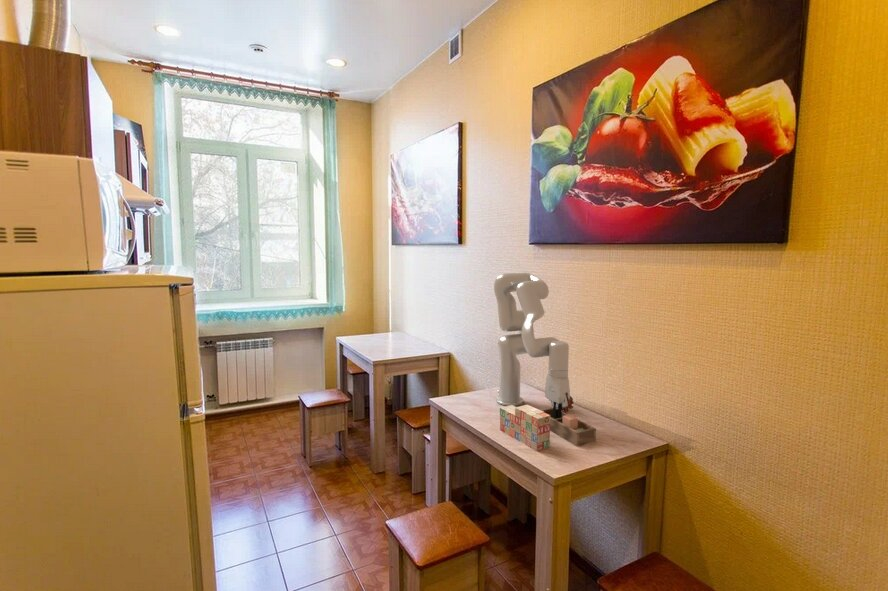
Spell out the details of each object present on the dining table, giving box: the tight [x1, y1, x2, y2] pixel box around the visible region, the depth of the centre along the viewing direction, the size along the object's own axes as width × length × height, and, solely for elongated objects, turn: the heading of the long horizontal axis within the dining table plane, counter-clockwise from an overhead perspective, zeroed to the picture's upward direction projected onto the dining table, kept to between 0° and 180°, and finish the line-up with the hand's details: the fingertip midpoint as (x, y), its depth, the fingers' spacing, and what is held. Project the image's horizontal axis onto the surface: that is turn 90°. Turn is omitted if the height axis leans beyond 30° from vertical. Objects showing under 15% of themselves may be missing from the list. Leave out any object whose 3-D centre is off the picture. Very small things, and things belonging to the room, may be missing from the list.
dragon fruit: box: [551, 395, 575, 414], centre depth 192 cm, size 8×8×12 cm
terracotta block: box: [562, 413, 579, 429], centre depth 167 cm, size 4×4×4 cm
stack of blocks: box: [499, 404, 551, 452], centre depth 164 cm, size 21×6×12 cm, turn 31°
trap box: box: [540, 407, 597, 447], centre depth 170 cm, size 24×9×5 cm, turn 25°
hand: (557, 417), depth 174 cm, fingers closed
